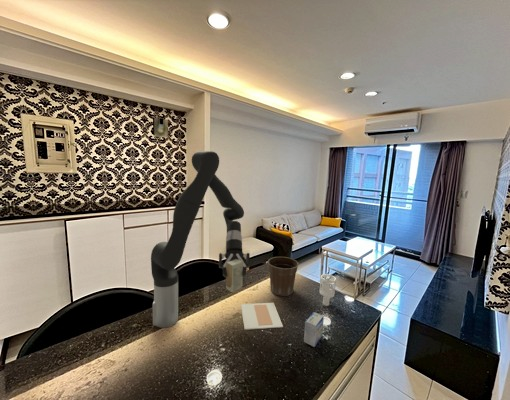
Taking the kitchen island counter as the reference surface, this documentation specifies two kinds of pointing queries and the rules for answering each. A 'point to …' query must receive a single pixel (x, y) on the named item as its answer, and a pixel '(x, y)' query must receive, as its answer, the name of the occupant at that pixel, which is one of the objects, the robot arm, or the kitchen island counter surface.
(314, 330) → the medicine box
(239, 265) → the skincare box
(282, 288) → the plant pot
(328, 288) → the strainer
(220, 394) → the kitchen island counter surface
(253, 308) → the mat
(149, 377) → the kitchen island counter surface
